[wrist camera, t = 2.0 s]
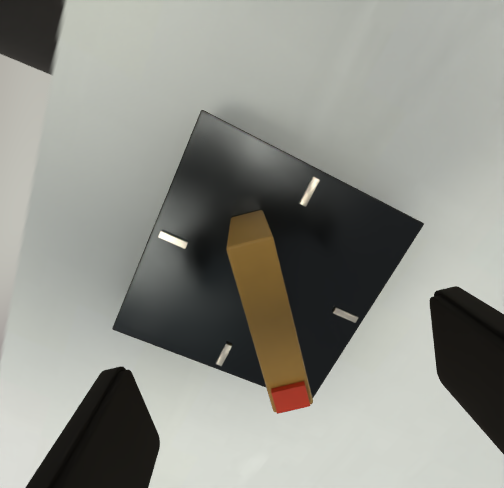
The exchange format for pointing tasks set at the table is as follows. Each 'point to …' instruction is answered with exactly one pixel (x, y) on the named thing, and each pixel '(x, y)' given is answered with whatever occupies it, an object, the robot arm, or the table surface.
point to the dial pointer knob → (268, 311)
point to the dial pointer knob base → (287, 246)
